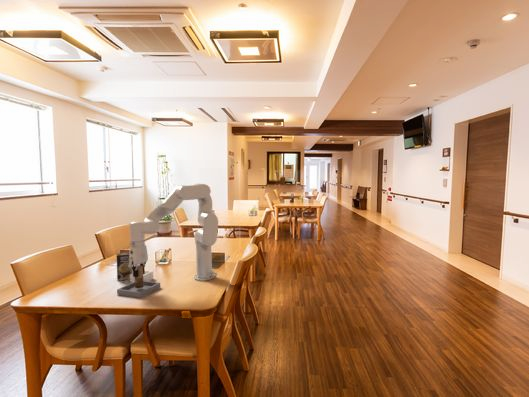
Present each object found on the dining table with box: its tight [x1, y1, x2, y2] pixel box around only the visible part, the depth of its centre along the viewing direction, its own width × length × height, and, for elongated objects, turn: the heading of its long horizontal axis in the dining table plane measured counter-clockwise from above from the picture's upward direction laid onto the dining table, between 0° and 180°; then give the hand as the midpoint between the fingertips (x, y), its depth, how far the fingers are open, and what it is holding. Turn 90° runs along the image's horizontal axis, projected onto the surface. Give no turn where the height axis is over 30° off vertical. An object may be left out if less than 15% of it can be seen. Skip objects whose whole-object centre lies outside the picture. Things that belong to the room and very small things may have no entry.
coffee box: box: [115, 252, 133, 282], centre depth 192 cm, size 9×6×16 cm
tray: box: [116, 280, 161, 299], centre depth 171 cm, size 16×16×3 cm
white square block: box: [129, 269, 154, 283], centre depth 189 cm, size 10×10×5 cm
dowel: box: [134, 264, 144, 288], centre depth 171 cm, size 4×4×12 cm
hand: (138, 275), depth 171 cm, fingers closed on dowel, 4 cm apart
